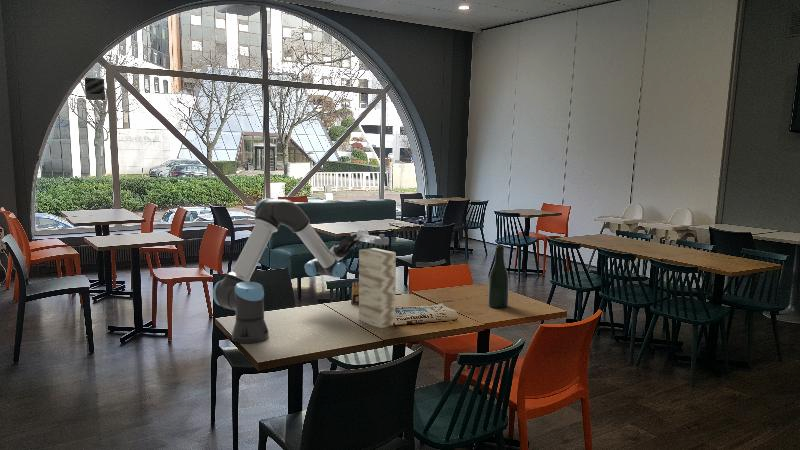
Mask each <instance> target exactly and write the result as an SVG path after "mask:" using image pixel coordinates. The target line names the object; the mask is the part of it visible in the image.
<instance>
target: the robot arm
mask: <svg viewBox="0 0 800 450" xmlns="http://www.w3.org/2000/svg"><path fill="white" fill-rule="evenodd" d="M253 213H254V219H253V222H254V227H253V229H252V230H251V233H250V235H249V236H248V238H247V240H246V242H245V244H244V246H243V247H242V251H241V252H240V254H239V256H238V258H237V260H236V262H235V263H234V266H233V268H232V269H231V271H230V272H227V273H226V274H225V276H224V278H223V279H221V280H219V281H217V282H216V283H215V284H214V287H213V289H212V297H213V300H214V302H215V304H216V305H218V306H220V307H222V308H223V309H229V310H233V311H235V323H234V326H233V330H232V332H231V341H233V342H234V343H237V344H238V343H239V344H255V343H256V344H257V343H261V342H263V341H266V340H268V339H269V338H270V337H269V336H270V334H269V332H270V331H269V329H268V326H267V323H266V321H265V297H264V296H265V291H264V287H263V284H261V283H259V282H255V281H250V280H251V277H252V275H253V273H254V271H255V269H256V268H257V265H258V263H259V261H260V259H261V258H262V255H263V253H264V251H265V249H266V248H267V245H268V243H269V241H270V239H271V237H272V235H273V233H277V232H278V231H279V229H280V226H284V227H287V228H288V229H289V230H290V231H291V232H292V233H294V234H296V235H297V236H298V237H299V238H300V239H299V240H301V241H302V243H303V244H304V245H305V246H306V248H307V249H308V251H310V253H311V254H312V255H313V257H314V258H313V259H311V260H309V261H307V262H305V264H304V267H303V268H304V270H305V271H304V272H305V273H306V275H308V276H309V277H315V276H317V275H323V276H328V277H332V278H338V279H339V278H340V279H341V278H343V277H344V276H345V275H346V272H347V267H346V264H345V263H344V262H341V260H343V259H344V258H345V257H346V256H347V255H348V254H349V253H350V250H351V249H353V248H354V247H355V248H359V246H360V245H361V244H362V243H364V242H363V241H358V240H357V239H358V238H359V237H360V236H362V234H367V235H370V233H369V231H368V229H367V228H366V229H364V230H362V229H359V230H357V232H354V233H355V234H354V235H353V236H351V235H350V236H345V237H344V238H343V239H341V240H340V241H338V242H337V243H335V244H334V245H333V246H332V247H331V248H329V247H328V246H327V245H326V244H325V242H324V241H323V240H322V238H321V236H320V235H319V234H318V233H317V231H316V230H315V229H314V227H313V226H312V224H310V218H309V216H308V215H307V214H306V213H305V211H303V209H302V208H301V207H300V206H298V205H297V204H296V203H295V202H293V201H291V200H289V199H285V198H283V199H281V198H275V197H274V198H273V197H269V198H263V199H261V200H259V201H258V202H257V203H256V205H255V207H254V211H253ZM353 239H354V240H353Z"/></svg>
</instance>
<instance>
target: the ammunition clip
mask: <svg viewBox="0 0 800 450" xmlns="http://www.w3.org/2000/svg"><path fill="white" fill-rule="evenodd" d="M351 285H352V286H351V299H350V304H352V305H359V282H357V281H353V282H352V283H351Z"/></svg>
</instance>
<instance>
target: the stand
mask: <svg viewBox="0 0 800 450" xmlns="http://www.w3.org/2000/svg"><path fill="white" fill-rule="evenodd" d="M396 256H397V253H396V252H395V251H390V250H385V249H380V248H376V247H372V248H364V249H363V248H362V249H359V250H358V283H359V304H358V322H359V321H360V322H361V323H365V324H367V325H370V326H373V327H376V328H377V329H383V328H387V327H391V326H394V325H393V322H395V323H396V287H397V286H396V284H397V283H396V280H397V278H396V275H397V274H396V273H397V271H396V269H397V267H396V266H397V264H396V263H397V262H396V261H397V257H396Z"/></svg>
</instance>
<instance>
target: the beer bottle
mask: <svg viewBox="0 0 800 450" xmlns="http://www.w3.org/2000/svg"><path fill="white" fill-rule="evenodd" d="M494 257H495V258H494V263H493V266H492V269H491V270H490V274H489V279H488V297H487V300H488V301H487V305H488V307H490V308H493V309H507V308H508V307H509V296H510V295H509V291H510V290H509V288H510V286H509V285H510V284H509V281H510V279H509V278H510V277H509V272H508V270H507V268H506V267H507V266H506V263H505V247H504V244H502V243H499V244H496V247H495V256H494Z"/></svg>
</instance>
